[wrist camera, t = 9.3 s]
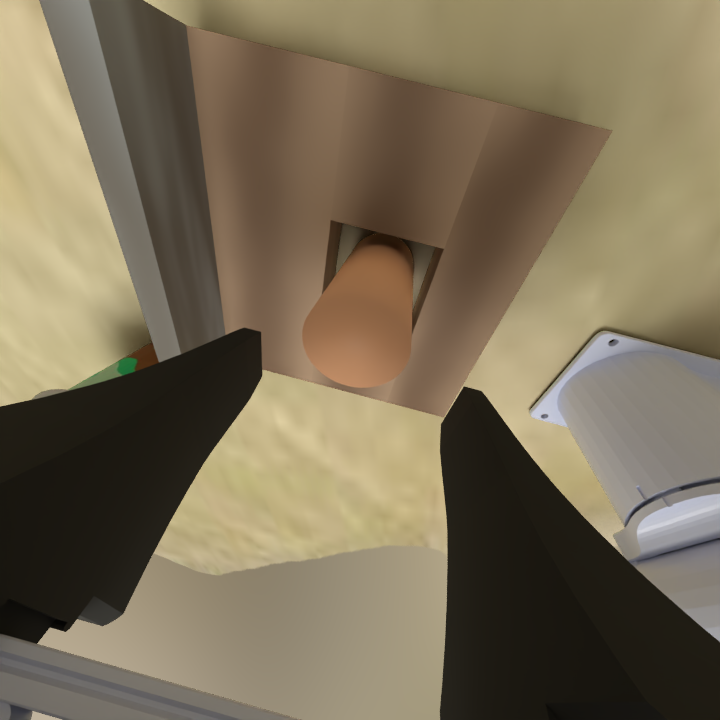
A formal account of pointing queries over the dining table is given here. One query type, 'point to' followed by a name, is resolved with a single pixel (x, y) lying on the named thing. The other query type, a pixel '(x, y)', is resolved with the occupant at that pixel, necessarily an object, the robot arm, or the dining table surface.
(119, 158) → the socket block
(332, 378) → the peg
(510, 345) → the dining table surface
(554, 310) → the dining table surface
